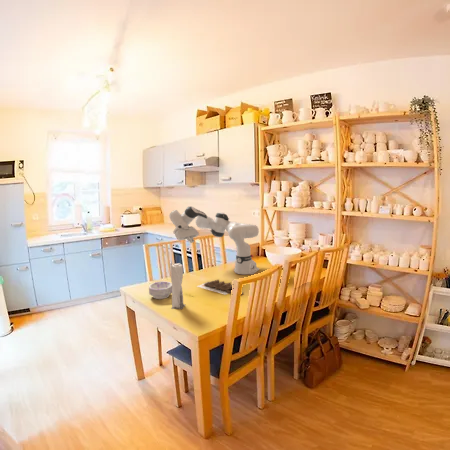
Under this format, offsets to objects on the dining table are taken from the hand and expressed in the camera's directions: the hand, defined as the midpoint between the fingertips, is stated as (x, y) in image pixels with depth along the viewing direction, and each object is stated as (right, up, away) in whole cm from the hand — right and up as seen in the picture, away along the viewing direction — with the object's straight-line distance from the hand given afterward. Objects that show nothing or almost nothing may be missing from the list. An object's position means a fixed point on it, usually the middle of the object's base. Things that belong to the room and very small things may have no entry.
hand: (192, 242), depth 236 cm
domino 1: (+11, -29, -12) cm, 33 cm away
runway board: (+18, -32, -17) cm, 40 cm away
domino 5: (+27, -31, -25) cm, 48 cm away
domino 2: (+15, -30, -15) cm, 36 cm away
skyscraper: (-5, -37, -45) cm, 58 cm away
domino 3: (+19, -30, -18) cm, 40 cm away
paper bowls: (-18, -34, -29) cm, 48 cm away
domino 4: (+23, -31, -21) cm, 44 cm away
